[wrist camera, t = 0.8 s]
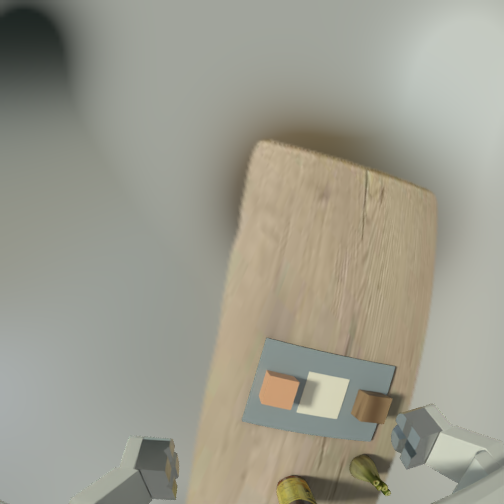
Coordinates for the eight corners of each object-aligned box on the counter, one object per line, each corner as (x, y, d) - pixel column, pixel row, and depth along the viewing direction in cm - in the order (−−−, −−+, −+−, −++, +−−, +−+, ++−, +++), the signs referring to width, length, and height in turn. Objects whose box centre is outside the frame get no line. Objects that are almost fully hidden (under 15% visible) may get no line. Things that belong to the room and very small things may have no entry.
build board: (393, 365, 55) (395, 366, 54) (368, 439, 52) (370, 441, 51) (266, 337, 55) (267, 338, 54) (241, 419, 52) (241, 421, 51)
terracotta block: (293, 376, 53) (299, 382, 48) (285, 401, 52) (290, 410, 47) (266, 369, 53) (269, 375, 48) (258, 395, 52) (261, 403, 47)
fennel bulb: (370, 469, 51) (395, 494, 39) (349, 477, 51) (370, 505, 39) (367, 448, 52) (393, 472, 40) (345, 457, 51) (367, 483, 40)
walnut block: (380, 392, 53) (392, 398, 48) (373, 416, 52) (383, 424, 47) (358, 389, 53) (369, 395, 48) (350, 413, 52) (360, 421, 47)
